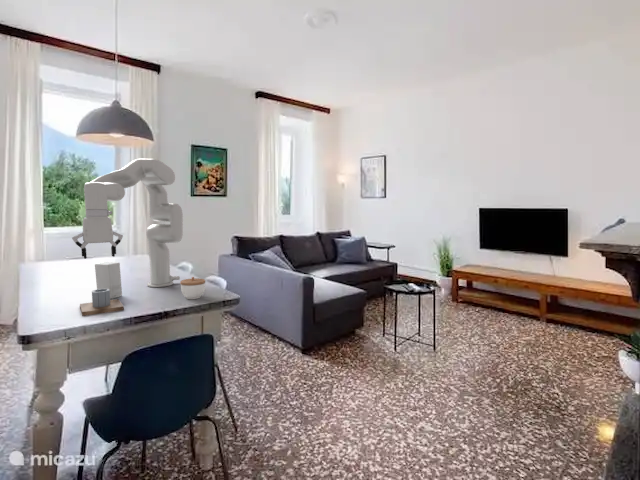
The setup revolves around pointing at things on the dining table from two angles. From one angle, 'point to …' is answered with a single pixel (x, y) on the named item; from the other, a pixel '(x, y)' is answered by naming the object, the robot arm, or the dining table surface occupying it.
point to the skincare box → (109, 278)
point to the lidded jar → (193, 287)
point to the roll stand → (101, 308)
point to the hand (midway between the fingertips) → (99, 257)
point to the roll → (100, 297)
